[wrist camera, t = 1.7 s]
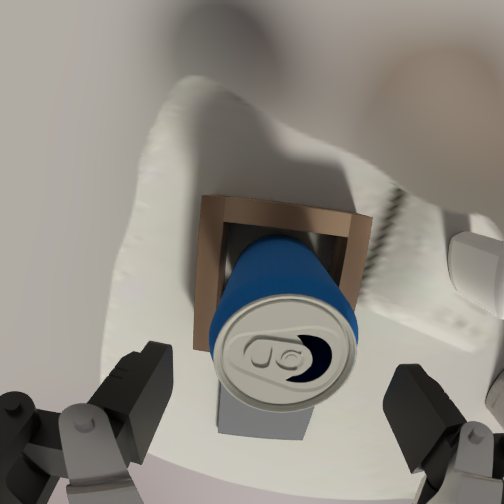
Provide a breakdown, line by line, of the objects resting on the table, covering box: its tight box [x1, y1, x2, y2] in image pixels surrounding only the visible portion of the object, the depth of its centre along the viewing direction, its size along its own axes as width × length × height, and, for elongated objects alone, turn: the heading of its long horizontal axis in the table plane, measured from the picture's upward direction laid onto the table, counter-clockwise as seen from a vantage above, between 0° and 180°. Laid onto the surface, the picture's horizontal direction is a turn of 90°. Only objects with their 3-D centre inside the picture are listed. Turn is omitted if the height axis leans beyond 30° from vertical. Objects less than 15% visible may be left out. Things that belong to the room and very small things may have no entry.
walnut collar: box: [193, 195, 373, 352], centre depth 20 cm, size 11×11×4 cm
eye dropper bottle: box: [448, 231, 504, 320], centre depth 15 cm, size 4×6×12 cm
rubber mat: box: [218, 383, 314, 440], centre depth 25 cm, size 9×9×1 cm
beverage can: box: [209, 234, 358, 413], centre depth 16 cm, size 6×6×12 cm
